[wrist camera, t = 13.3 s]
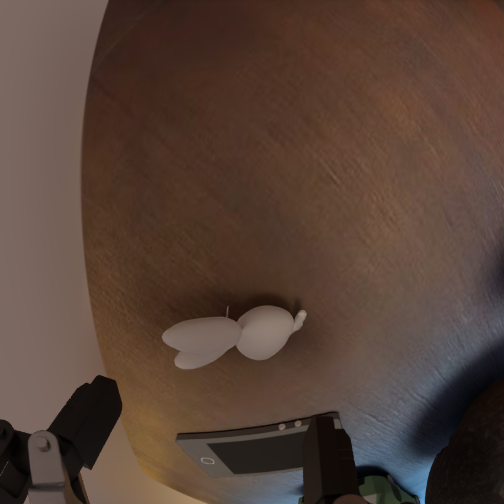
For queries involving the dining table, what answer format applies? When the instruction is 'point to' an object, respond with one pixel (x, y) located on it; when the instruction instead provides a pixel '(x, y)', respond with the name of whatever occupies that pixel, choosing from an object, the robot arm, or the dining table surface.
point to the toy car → (381, 491)
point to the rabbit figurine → (232, 335)
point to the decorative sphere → (472, 455)
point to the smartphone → (249, 449)
